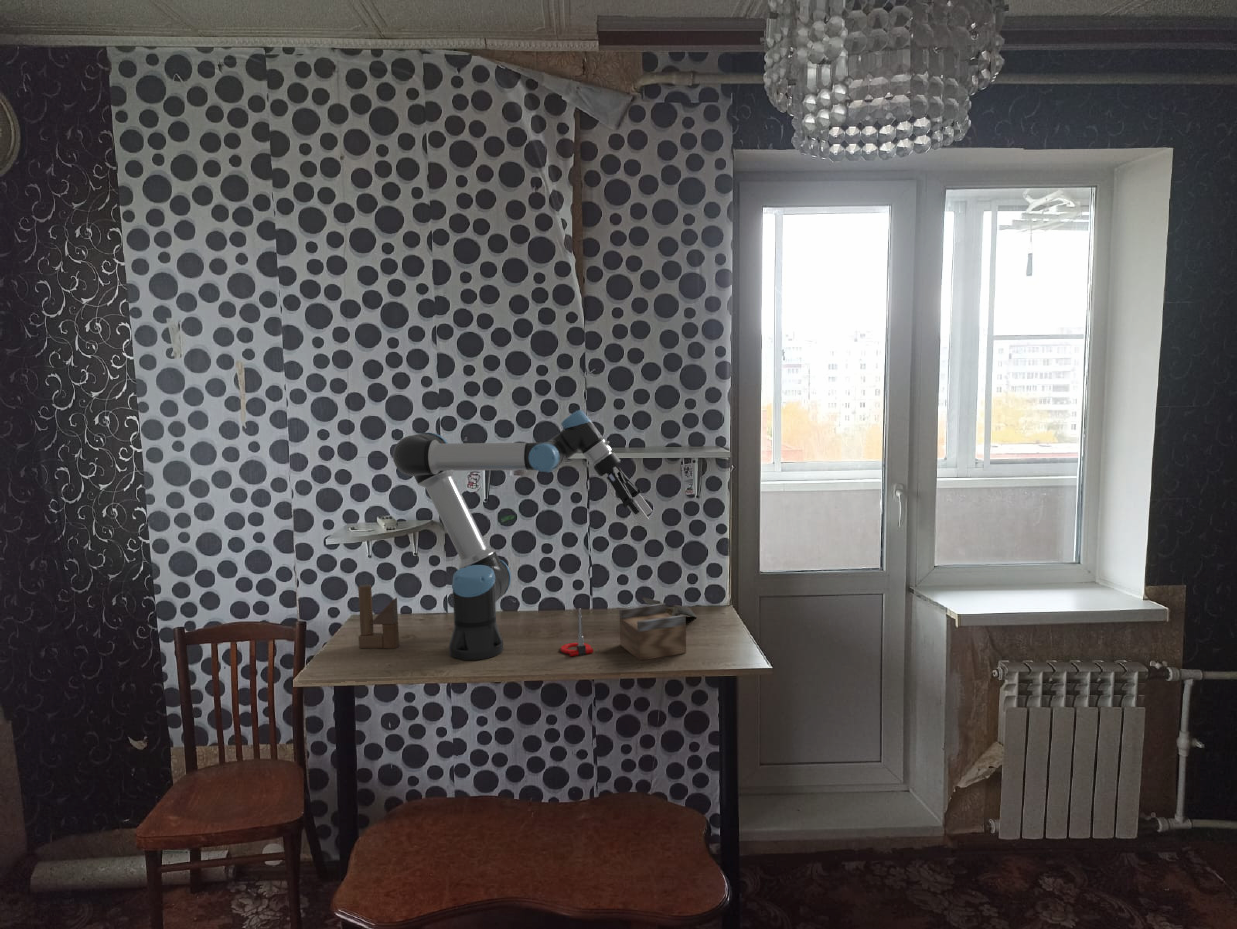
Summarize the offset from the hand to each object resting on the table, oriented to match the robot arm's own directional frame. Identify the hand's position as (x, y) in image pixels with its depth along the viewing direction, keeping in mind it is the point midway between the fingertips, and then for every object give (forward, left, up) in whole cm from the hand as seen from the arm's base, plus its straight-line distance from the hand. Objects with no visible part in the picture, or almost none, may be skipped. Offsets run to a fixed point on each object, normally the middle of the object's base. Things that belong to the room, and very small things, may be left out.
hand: (647, 518), depth 226 cm
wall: (+13, +13, -36) cm, 41 cm away
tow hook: (-22, 0, -36) cm, 43 cm away
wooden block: (-73, +27, -36) cm, 86 cm away
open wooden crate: (-2, -8, -36) cm, 37 cm away
